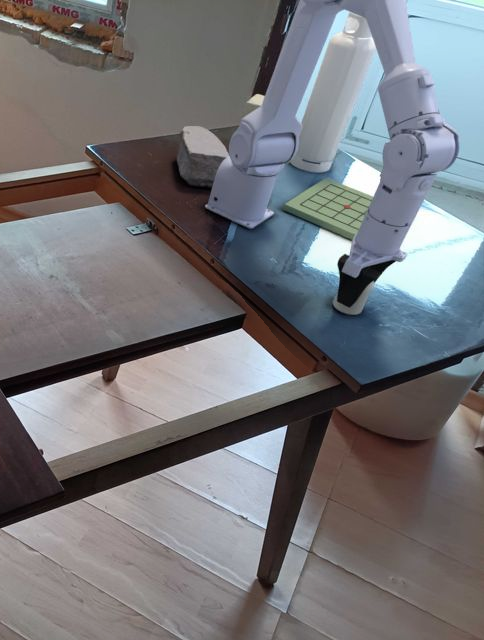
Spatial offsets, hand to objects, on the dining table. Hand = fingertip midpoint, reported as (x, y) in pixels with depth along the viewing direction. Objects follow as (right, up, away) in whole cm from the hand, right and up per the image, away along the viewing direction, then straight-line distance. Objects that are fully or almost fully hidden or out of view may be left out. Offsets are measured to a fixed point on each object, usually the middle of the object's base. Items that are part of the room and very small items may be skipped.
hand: (351, 297), depth 100 cm
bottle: (+10, +30, +38) cm, 49 cm away
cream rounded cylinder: (0, -1, +1) cm, 2 cm away
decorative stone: (-15, +26, +31) cm, 43 cm away
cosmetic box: (-4, +30, +37) cm, 48 cm away
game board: (+10, +17, +23) cm, 30 cm away
